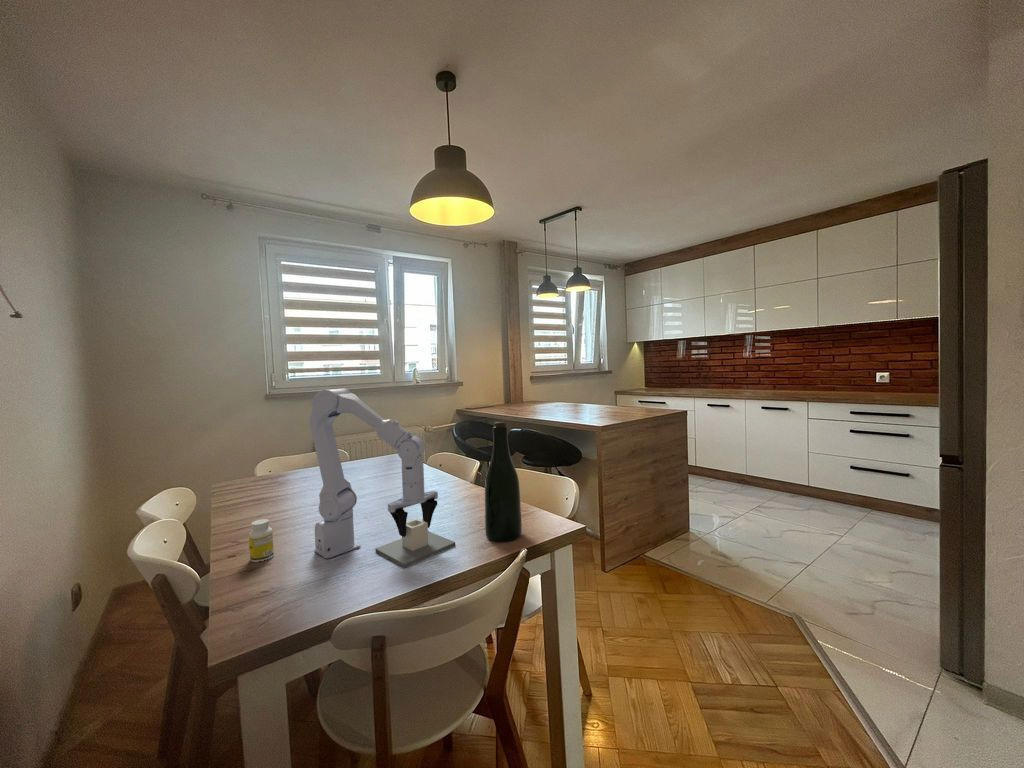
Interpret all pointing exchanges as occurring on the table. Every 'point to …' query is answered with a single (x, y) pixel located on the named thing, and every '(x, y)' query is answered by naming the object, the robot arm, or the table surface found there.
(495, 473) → the green wine bottle
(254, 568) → the table surface
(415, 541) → the sleeve
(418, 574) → the table surface
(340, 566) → the table surface
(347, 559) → the table surface
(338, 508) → the robot arm
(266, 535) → the supplement bottle
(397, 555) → the post board
